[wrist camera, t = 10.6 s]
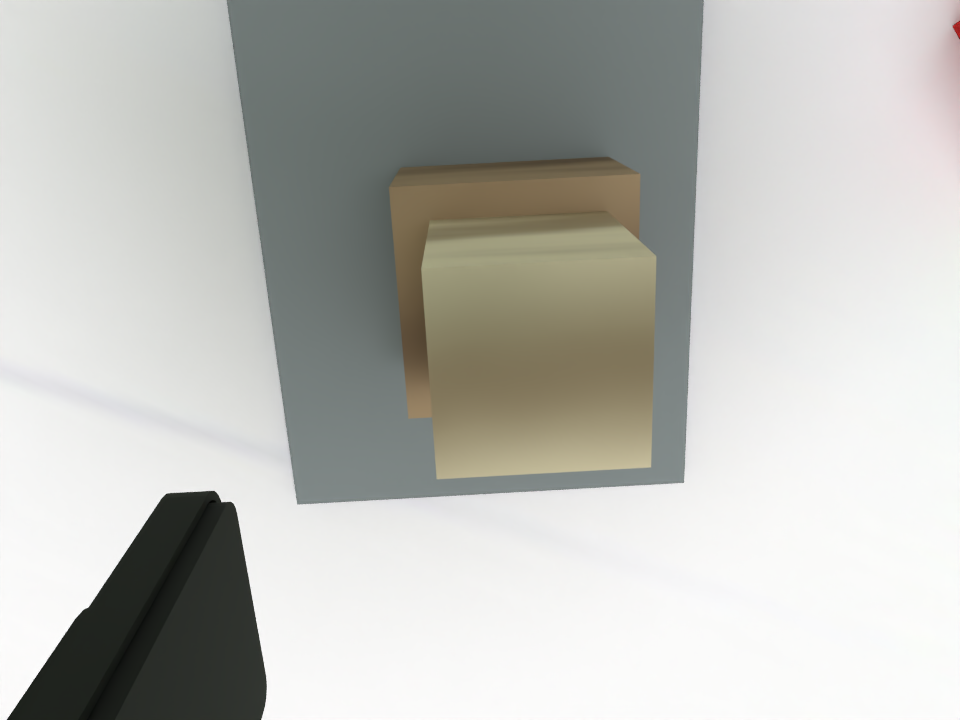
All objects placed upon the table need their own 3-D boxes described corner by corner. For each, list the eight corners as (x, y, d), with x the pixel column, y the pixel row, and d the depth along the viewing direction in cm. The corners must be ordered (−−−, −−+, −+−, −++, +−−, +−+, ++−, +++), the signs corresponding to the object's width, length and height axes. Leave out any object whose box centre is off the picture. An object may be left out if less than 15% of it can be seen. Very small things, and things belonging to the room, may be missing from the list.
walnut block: (400, 167, 27) (388, 186, 22) (608, 156, 27) (640, 173, 23) (416, 363, 30) (408, 418, 25) (607, 353, 30) (636, 405, 25)
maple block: (429, 220, 23) (421, 268, 17) (606, 211, 23) (656, 256, 17) (440, 385, 24) (436, 479, 19) (606, 376, 25) (650, 467, 19)
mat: (211, -147, 25) (205, -152, 24) (704, -171, 25) (710, -176, 24) (300, 496, 32) (297, 504, 31) (680, 475, 32) (683, 482, 31)
